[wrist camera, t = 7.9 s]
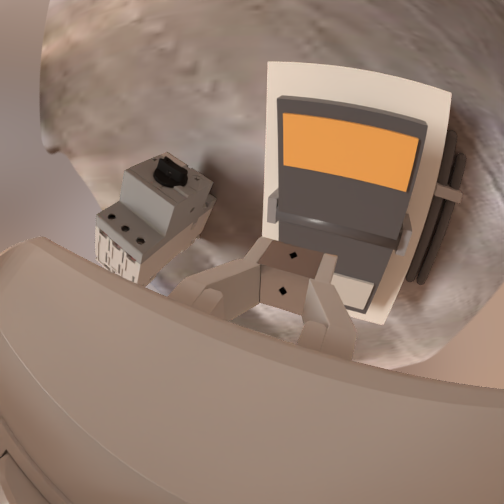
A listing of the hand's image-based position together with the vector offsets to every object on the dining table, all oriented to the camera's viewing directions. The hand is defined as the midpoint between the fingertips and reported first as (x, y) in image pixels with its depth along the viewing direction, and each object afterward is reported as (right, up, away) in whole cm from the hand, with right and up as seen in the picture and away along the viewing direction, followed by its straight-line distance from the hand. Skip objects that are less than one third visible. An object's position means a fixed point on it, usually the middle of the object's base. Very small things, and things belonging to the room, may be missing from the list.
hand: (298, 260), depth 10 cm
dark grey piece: (+19, +5, +15) cm, 25 cm away
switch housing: (+9, +7, +19) cm, 22 cm away
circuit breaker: (-10, +9, +28) cm, 31 cm away
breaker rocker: (+5, +3, +12) cm, 13 cm away
